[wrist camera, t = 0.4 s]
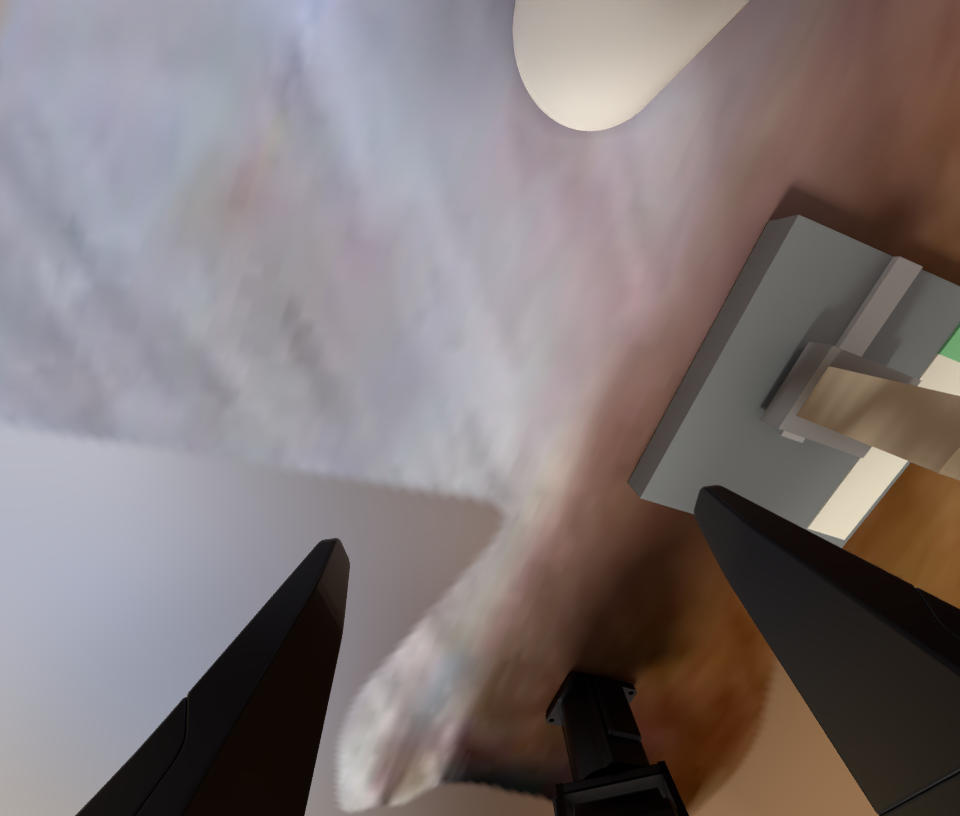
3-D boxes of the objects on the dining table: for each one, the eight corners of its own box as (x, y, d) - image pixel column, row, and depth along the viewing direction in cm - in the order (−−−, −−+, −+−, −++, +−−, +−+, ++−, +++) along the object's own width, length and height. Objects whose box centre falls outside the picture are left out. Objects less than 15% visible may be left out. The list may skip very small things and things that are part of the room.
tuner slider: (906, 471, 24) (1117, 561, 16) (757, 418, 22) (910, 490, 14) (962, 402, 22) (1224, 465, 14) (805, 340, 21) (1005, 375, 13)
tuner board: (810, 538, 28) (838, 559, 26) (627, 482, 26) (642, 500, 24) (981, 313, 23) (1035, 316, 21) (768, 220, 21) (803, 213, 18)
